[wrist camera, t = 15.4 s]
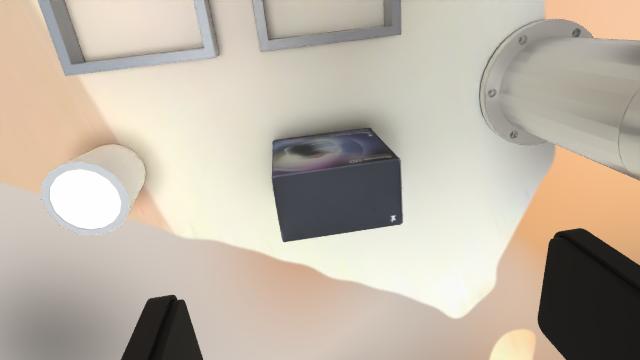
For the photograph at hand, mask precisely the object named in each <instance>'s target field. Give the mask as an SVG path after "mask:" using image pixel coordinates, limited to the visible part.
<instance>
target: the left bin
mask: <svg viewBox="0 0 640 360" xmlns="http://www.w3.org/2000/svg"><path fill="white" fill-rule="evenodd" d="M38 2H39V5H40V8H41V11H42V13H43V16H44V19H45V22H46V24H47V27H48V30H49V33H50V36H51V38H52V41H53V44H54V47H55V49H56V52H57V55H58V58H59V60H60V63H61V66H62V69H63V71H64V74H65V76H68V75H76V74H85V73H93V72H101V71H109V70H117V69H125V68H133V67H141V66H150V65H158V64H166V63H174V62H182V61H190V60H198V59H206V58H215V57H217V56H219V52H218V47H217V42H216V37H215V32H214V27H213V22H212V17H211V12H210V7H209V2H208V0H194V4H195V9H196V13H197V18H198V23H199V27H200V32H201V36H202V41H203V46H204V48H197V49H188V50H180V51H172V52H164V53H155V54H147V55H139V56H131V57H122V58H114V59H106V60H98V61H89V62H85V61H84V58H83V55H82V52H81V49H80V46H79V43H78V40H77V37H76V34H75V31H74V28H73V25H72V22H71V19H70V16H69V14H68V11H67V8H66V5H65V2H64V0H38Z"/></svg>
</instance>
